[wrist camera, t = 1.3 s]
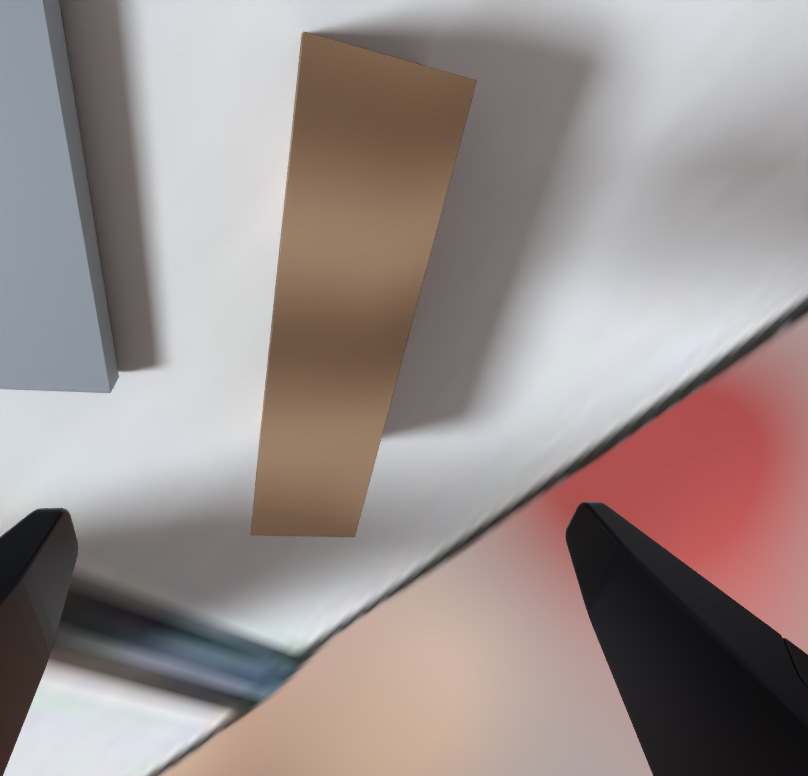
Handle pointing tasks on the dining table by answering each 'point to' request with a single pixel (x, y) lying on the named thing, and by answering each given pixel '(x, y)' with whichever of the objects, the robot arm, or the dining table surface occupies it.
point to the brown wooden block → (348, 274)
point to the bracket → (46, 217)
